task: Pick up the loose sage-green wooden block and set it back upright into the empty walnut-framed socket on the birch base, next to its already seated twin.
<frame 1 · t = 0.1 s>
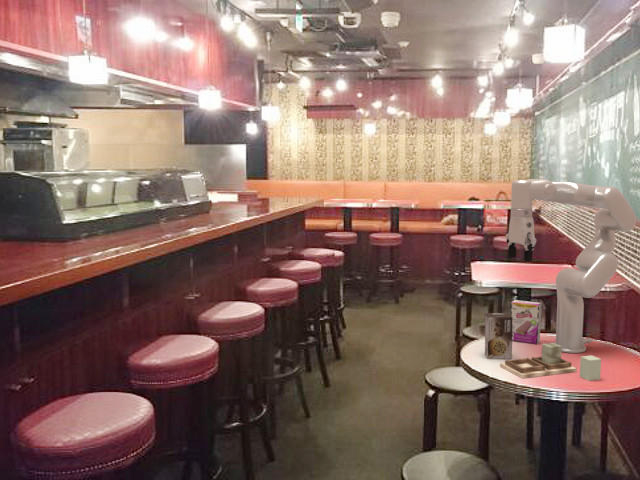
hand: (519, 259, 229), 37 cm above the table, tool pointing down, fingers open, 9 cm apart
cookie box: (497, 357, 231), on the table
sage block: (589, 377, 207), on the table
candy bar box: (524, 341, 250), on the table
socket base: (537, 369, 216), on the table
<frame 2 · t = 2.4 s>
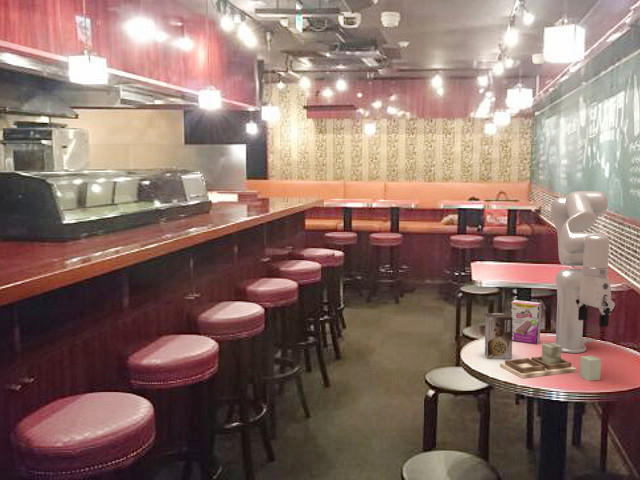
hand: (592, 323, 204), 19 cm above the table, tool pointing down, fingers open, 9 cm apart
nothing on the table moved.
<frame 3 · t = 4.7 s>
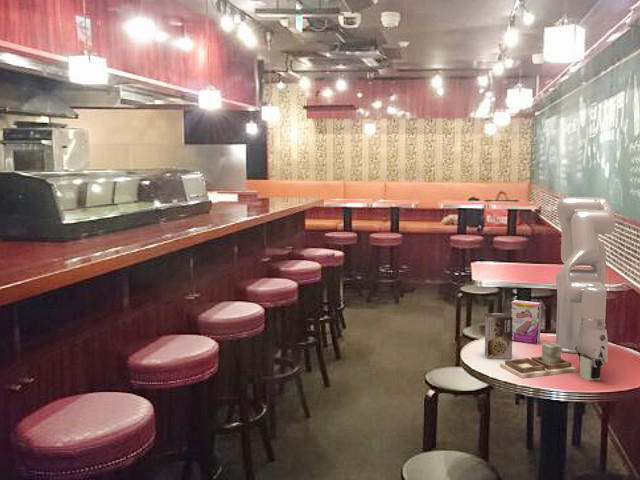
hand: (590, 375, 207), 1 cm above the table, tool pointing down, fingers closed on sage block, 4 cm apart
sage block: (589, 377, 207), on the table, touching gripper
everything else where it was.
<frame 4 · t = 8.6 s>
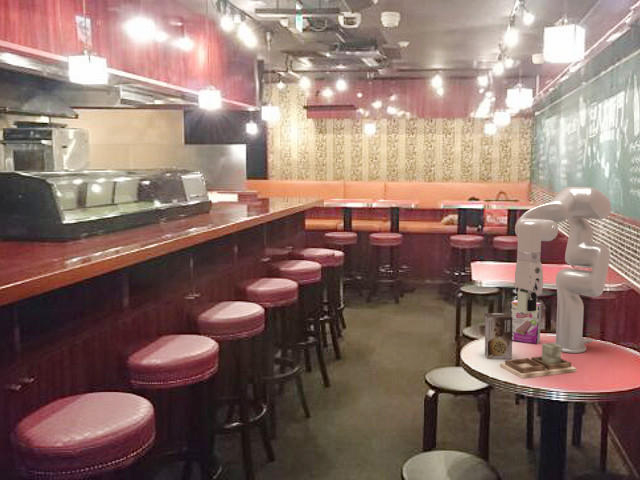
hand: (526, 308, 212), 22 cm above the table, tool pointing down, fingers closed on sage block, 4 cm apart
sage block: (526, 311, 212), point 21 cm above the table, touching gripper
everything else where it was.
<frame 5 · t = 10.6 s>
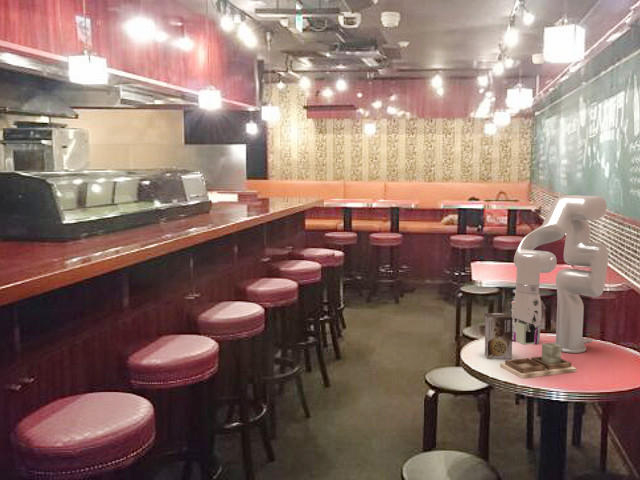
hand: (525, 339, 213), 11 cm above the table, tool pointing down, fingers closed on sage block, 4 cm apart
sage block: (525, 342, 213), point 10 cm above the table, touching gripper
everything else where it was.
when the fingers open (3 cm above the table, at t = 12.5 s): sage block drops 1 cm, resting on socket base.
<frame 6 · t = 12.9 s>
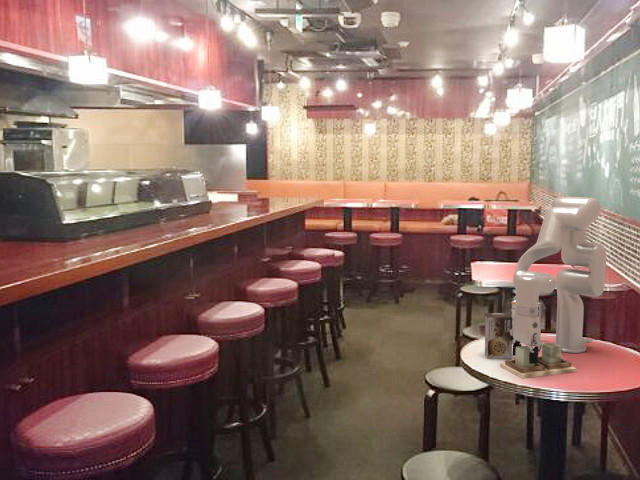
hand: (524, 359, 214), 4 cm above the table, tool pointing down, fingers open, 9 cm apart
sage block: (524, 367, 214), point 1 cm above the table, touching socket base
everything else where it was.
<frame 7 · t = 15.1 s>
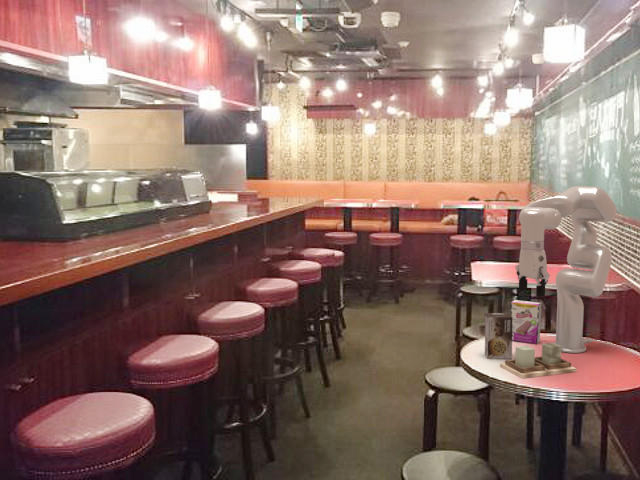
hand: (531, 293, 216), 27 cm above the table, tool pointing down, fingers open, 9 cm apart
nothing on the table moved.
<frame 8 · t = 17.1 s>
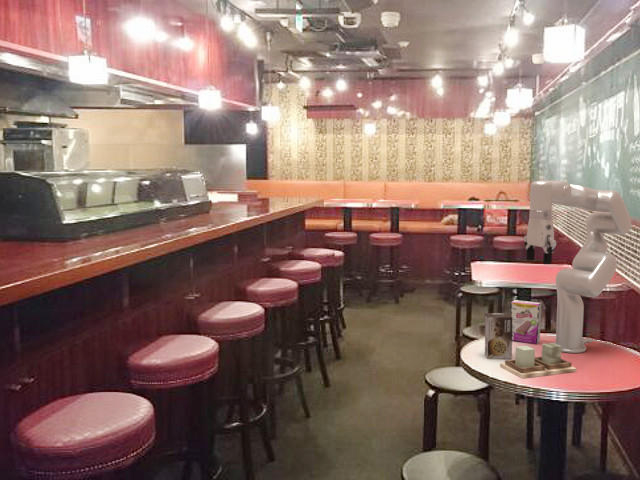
hand: (538, 261, 224), 36 cm above the table, tool pointing down, fingers open, 9 cm apart
nothing on the table moved.
at the end: sage block 0.0 cm from the target spot on the socket base, point 1.2 cm above the socket base's base; sage block tilted 0°; the gripper is holding nothing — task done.
